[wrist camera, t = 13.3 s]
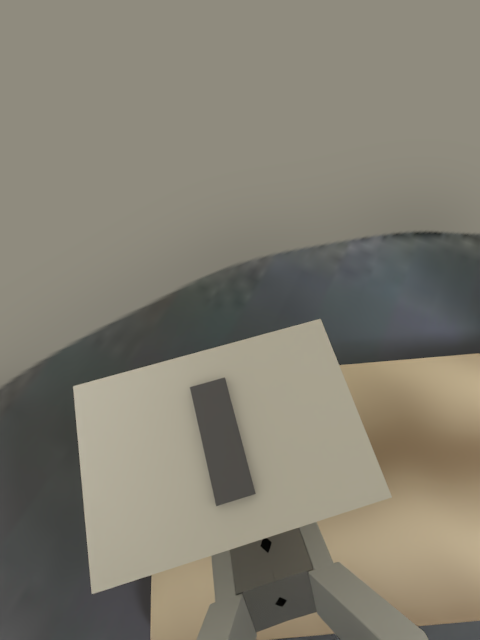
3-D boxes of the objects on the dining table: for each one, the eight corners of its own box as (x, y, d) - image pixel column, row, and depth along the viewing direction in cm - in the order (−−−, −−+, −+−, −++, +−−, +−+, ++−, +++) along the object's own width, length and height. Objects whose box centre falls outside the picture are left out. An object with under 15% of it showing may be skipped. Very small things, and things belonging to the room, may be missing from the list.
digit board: (803, 578, 13) (845, 587, 13) (157, 636, 13) (150, 650, 12) (665, 341, 17) (689, 335, 16) (159, 384, 17) (154, 380, 16)
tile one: (316, 474, 14) (396, 498, 6) (177, 518, 14) (87, 598, 6) (284, 378, 16) (318, 306, 8) (158, 414, 15) (67, 373, 8)
